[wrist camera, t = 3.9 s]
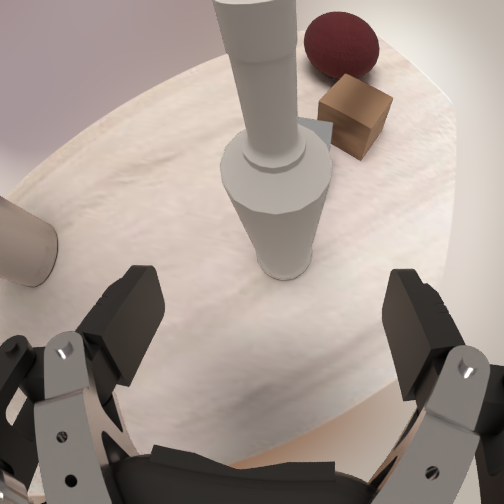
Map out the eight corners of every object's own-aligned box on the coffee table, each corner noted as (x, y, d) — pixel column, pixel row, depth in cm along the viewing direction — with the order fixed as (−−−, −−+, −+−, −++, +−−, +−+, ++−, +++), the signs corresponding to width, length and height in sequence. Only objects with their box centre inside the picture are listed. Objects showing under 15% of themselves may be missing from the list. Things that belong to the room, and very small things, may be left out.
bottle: (284, 220, 30) (255, -44, 6) (322, 255, 28) (397, -3, 4) (246, 255, 29) (117, 18, 5) (284, 293, 28) (245, 70, 4)
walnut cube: (316, 135, 32) (318, 101, 27) (340, 107, 33) (345, 73, 27) (360, 161, 31) (371, 128, 25) (381, 130, 32) (393, 97, 26)
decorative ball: (332, 102, 33) (338, 42, 24) (290, 62, 36) (287, 7, 27) (386, 83, 34) (401, 30, 24) (343, 47, 36) (348, -4, 27)
